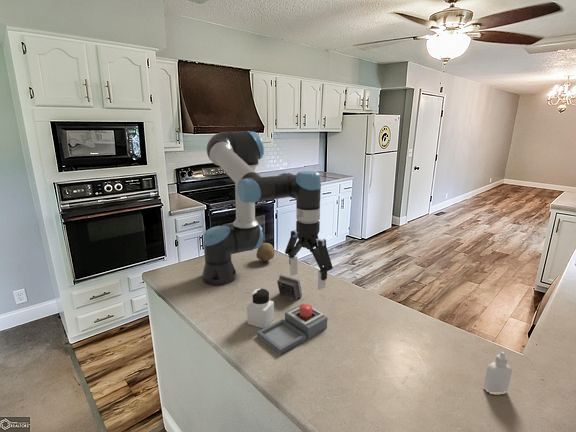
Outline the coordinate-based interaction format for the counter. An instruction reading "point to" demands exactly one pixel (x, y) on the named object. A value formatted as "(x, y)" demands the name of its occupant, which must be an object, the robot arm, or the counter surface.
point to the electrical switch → (289, 287)
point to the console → (292, 330)
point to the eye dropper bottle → (498, 374)
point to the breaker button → (305, 312)
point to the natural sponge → (265, 252)
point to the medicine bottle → (260, 309)
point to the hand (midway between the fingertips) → (307, 281)
